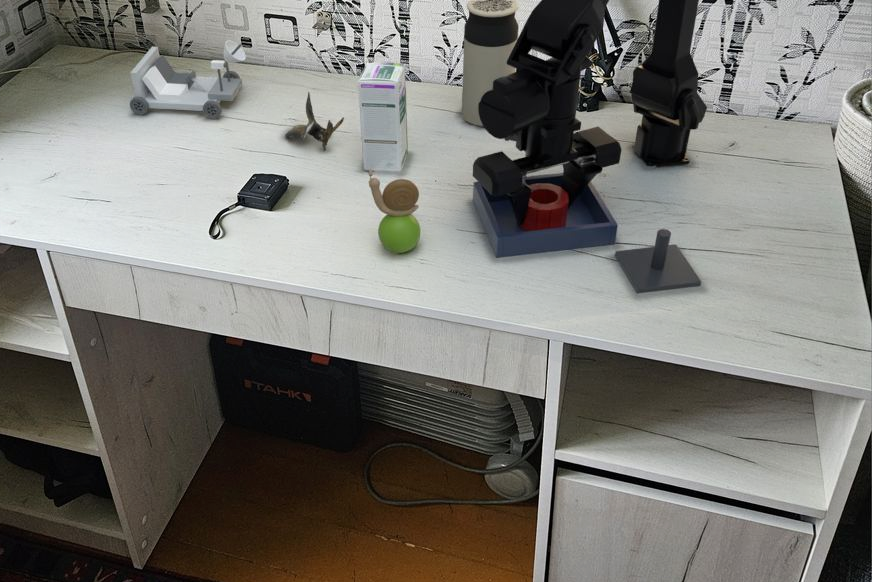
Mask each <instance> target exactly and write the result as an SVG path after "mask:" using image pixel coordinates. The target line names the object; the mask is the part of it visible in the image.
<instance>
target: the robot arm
mask: <svg viewBox="0 0 872 582" xmlns="http://www.w3.org/2000/svg"><path fill="white" fill-rule="evenodd" d="M699 1H700V0H658V4H657V12H656V18H655V26H654V31H653V32H654V33H653V39H652V45H651V46H652V47H651V52H650V53H649V54H648V55H647V57H646V58H645V59H644V60H643V61H642V63H641V64H640V65H637V66H636V67H635V68H634V69H633V71H632V81H631V82H632V83H631V86H630V90H629V94H631V100H632V105H633V106H632V107H633V112H634V113H636V114H640V115H642V117H641V123H639V124H638V125H637V127H636V128H637V129H636V135H635V139H634V143H632V147H633V150H634V151H635V153H636V154H637V156H638V158H640V159H641V160H642V161H643V163H644V164H645V166H646V167H648V168H649V167H656V168H660V167H667V166H668V167H669V166H675V165H676V166H677V165H687V164H690V163H691V162H690V160H691V159H690V157H689V156H688V155H687V149H688V146H689V145H688V144H689V139H690V134H691V130H697V129H698V128H699V124H700V123H702V122H703V120H704V118H705V115H706V112H707V110H708V106H707V105H706V103H705V101H704V100H703V99H702V97H701V96H700V94H699V93H698V89H699V88H698V86H699V71H698V69H697V67H696V64H695V62H694V59H693V57H692V54H691V50H692V49H691V48H692V43H693V37H694V31H695V25H696V20H697V15H698V14H697V13H698V8H699ZM609 2H610V0H540V1H539V2H538V3H537V4H536V6H535V7H534V8H533V10H531V12H530V14H529V16H528V17H527V19H526V21H525V23H524V26H523V27H522V29H521V32H520V33H519V35H518V40H517V42H516V44H515V46H514V48H513V50H512V52H511V54H510V56H509V58H508V60H507V65H509V66H511V67H514V68H516V69H515V72H514V73H512V74H510V75H508V76H505V77H500V78H498V79H495V80H494V81H493V89H492V90H489V91H487V92H486V93H484V95H483V96H482V98H481V100H480V102H479V104H478V112H479V117H480V120H481V122H482V125H483V126H482V127H483V128H484V130H485V131H486V132H487V133H488V134H489V135H491V136H492V138H495V139H499V140H503V139H504V141H506V142H508V141H512V142H515V148H516V149H517V150H518V151H520V152H522V151H524V152H525V153H524V157H520V158H516V159H511V157H509V156H508V155H507V154H506V153H505V152H504V151H502V150H501V151H497V152H493V153H490V154H485V155H482V156H478V157H477V158H476V159H474V161H473V164H472V177H473V178H474V179H475V180H476V182H479V183H480V184H481V185H482V186H483V187H484V188H485V189H486V190H487V191H488V192H489V193H490V194H491V195H494V196H501V195H505V194H508V197H509V200H510V203H511V206H512V209H513V212H514V215H515V218H516V220H517V222H518V223H519V224H520V225H521V224H523V222H524V220H525V217H526V213H527V209H528V204H529V200H530V195H531V191H532V189H531V188H530V187H529V186H528V185H527V184H525V181H526V177H528V175H529V174H533V173H537V172H540V171H543V170H547V169H551V168H555V167H559V166H562V171H563V172H562V173H563V179H562V189H564V190H565V191H566V192H567V193H568V196H569V203H568V209H569V208H570V207H571V205H572V204H573V203H574V201H575V200H576V199H577V197H578V196H579V195H580V193H581V192H582V191H583V189H584V188H585V187H586V186H587V185H588V184H589V183H590V181H591V182H592V181H593V179H594V178H595V177H596V176H597V175H600V174H601V173H602V172H603V168H608V167H610V166H614V165H618V164H620V161H621V156H622V146H621V144H620V142H619V141H618V140H617V139H616V138H614V137H613V136H611V134H609V133H607V132H606V131H605V130H604V129H602V127H600V126H595V127H591V128H586V129H583V130H581V129H582V121H581V120H579V119H578V118H577V117H576V116H577V109H578V101H579V100H578V99H579V91H580V84H581V83H580V82H581V74H582V71H585V70H587V69H589V68H591V67H592V66H593V64H594V61H593V60H592V59H591V58H589V57H588V55H589V53H590V52H591V51H592V50H593V48H594V46H595V43H596V41H597V40H598V38H599V37H600V35H601V34H600V33H601V32H602V31H603V29H604V26H605V14H606V13H605V11H606V7H607V5H608V4H609ZM531 50H533V51H535V52H538V53H540V54H543V55H546V56H547V57H550V58H548V59H543V58H541V57H537V56H536V55H533V54H530V52H531Z"/></svg>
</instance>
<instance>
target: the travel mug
mask: <svg viewBox="0 0 872 582" xmlns="http://www.w3.org/2000/svg"><path fill="white" fill-rule="evenodd" d="M466 9H467V10H468V19H467V20H466V21H465V23H464V25H463V26H464V29H463V34H464V35H463V57H462V58H463V59H462V61H463V62H462V64H463V65H462V88H461V89H462V91H461V117H462V118H463V120H464V121H466V122H467V123H470V124H472V125H473V126H478V127H484V126H483V125H482V122H481V120H480V117H479V112H478V104H479V102H480V100H481V98H482V96H483V95H484V93H486V92H487V91H489V90H492V89H493V81H494V80H495V79H498V78H500V77H505V76H508V75H510V74H512V73H514V72H516V68H514V67H511V66H509V65H507V60H508V58H509V56H510V54H511V52H512V50H513V48H514V46H515V44H516V42H517V40H518V38H519V23H518V21H517V19H516V12H517V10H518V9H519V3H518V2H517V1H516V0H468V1H467V3H466Z"/></svg>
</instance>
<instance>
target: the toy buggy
mask: <svg viewBox="0 0 872 582" xmlns="http://www.w3.org/2000/svg"><path fill="white" fill-rule="evenodd" d="M242 46H243V45H242V44H241V43H237V42H235V41H233V40H230V39H229V40H226V41H225V44H224V47H223V60H219V59H212V60H211V62H210V68H211V69H212V70H217V76H218V77H215V76H196V75H197V72H196V71H194V70H192V71H191V72H190V73H189V72H176V71H175V70H174V68H173V67H172V66H171V64H170V62H169V61H168V60H167V58H166V57H165V55H161V56H160V50H159V46H151V47H150V48H149V50H148V51H147V52H146V53H145V54H144V56H143V57H142V58H141V59H140V61H139V62H138V63H137V64H136V65H135V66H134V68H133V69H132V70H131V71H130V77H131V83H132V86H133V91H134V97H133V98H131V99H130V101H129V108H130V110H131V111H132V112H133V113H134V114H136V115H138V116H142V115H143V116H144V115H146V114H147V112H148V111H149V109H162V110H178V111H179V110H180V111H181V110H182V111H199V112H203V114H204V116H205V117H207V118H208V119H210V120H216V119H219V118H220V116H221V115H222V112H223V108H222V106H221V104H220V103H221V101H228V102H233V100H234V99H235V98H236V95H237V94H238V93H239V91H240V89H241V87H242V86H243V79H242V78H241V77H240V75H239V73H237V72H236V71H234V70H230V67H229V64H237V63H240V62H244V61H246V58H247V55H246V53H245V50H244V49H243V47H242ZM224 69H225V70H226V72H224V74H223V75H222V74H221V70H224Z"/></svg>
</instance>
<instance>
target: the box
mask: <svg viewBox="0 0 872 582" xmlns="http://www.w3.org/2000/svg"><path fill="white" fill-rule="evenodd" d="M562 179H563V172H558V173H557V172H556V173H547V174H538V175H530V176H529V175H527V176H526V181H525V184H527V185H528V186H529V185H532V184H537V183H545V184H549V185H550V184H553V185H556V186H559V187H561V188H562ZM472 203H473V206H474V207H475V210H476V213H477V215H478V217H479V220H480V222H481V224H482V227H483V229H484V232H485V234H486V236H487V239H488V241H489V244H490V246H491V248H492V251H493V253H494V256H495V258H496V259H501V258H510V257H517V256H519V257H520V256H527V255H536V254H545V253H554V252H563V251H570V250H571V251H573V250H580V249H589V248H597V247H598V248H599V247H605V246H606V247H607V246H615V244H616V238H617V234H618V226H619V224H618V223H617V221H616V220H615V218H614V216H613V215H612V213H611V211H610V210H609V207H608V206H607V204H606V203H605V201H604V200H603V198H602V197H601V195H600V193H599V192H598V190H597V188H596V186H595V185H594V184H593V182H592V180H591V181H590V183H589V184H588V185H587V186H586V187H585V188H584V189H583V191H582V192H581V193H580V195H579V196H578V197H577V199H576V200H575V201H574V203H573V204H572V205H571V207H570V208H569V209H568V212H567V220H566V226H565V227H563V228H554V229H545V230H536V231H527V232H526V231H524V230H522V229H521V228H520V227H519V225H518V224H517V220H516V218H515V215H514V212H513V209H512V206H511V203H510V200H509V197H508V194H505V195H501V196H494V195H491V194H490V193H489V192H488V191H487V190H486V189H485V188H484V187H483V186H482V185H481V184H480V183H479V182H478V181H473V185H472Z"/></svg>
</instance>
